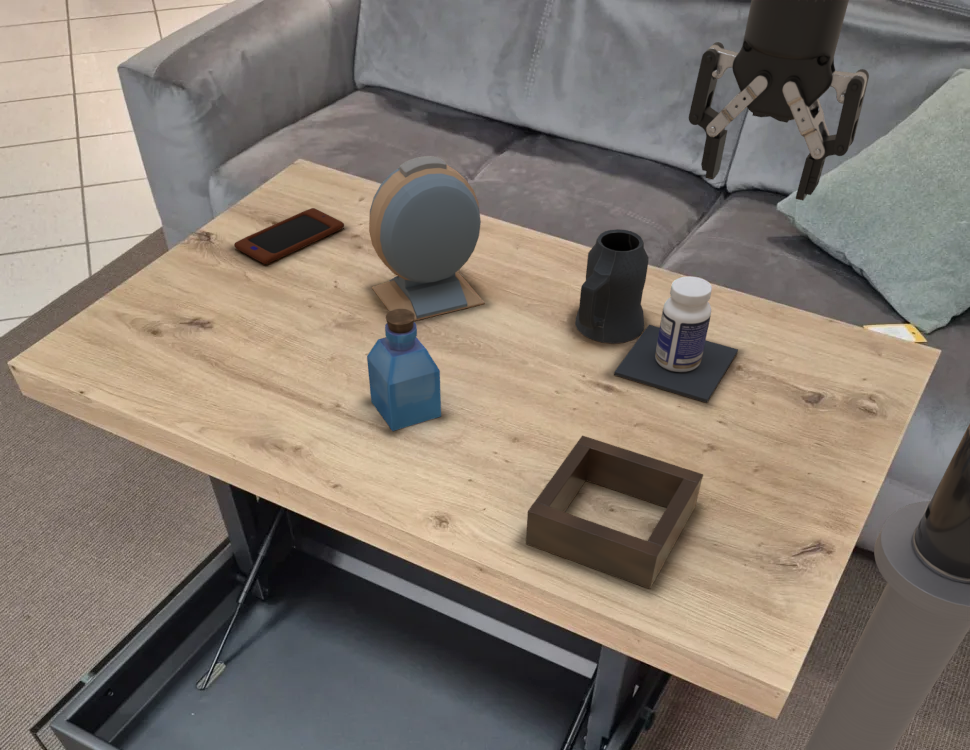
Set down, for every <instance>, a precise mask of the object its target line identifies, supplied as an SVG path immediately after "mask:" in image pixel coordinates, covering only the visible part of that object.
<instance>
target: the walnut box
mask: <svg viewBox="0 0 970 750" xmlns="http://www.w3.org/2000/svg"><path fill="white" fill-rule="evenodd" d="M703 477H704V474H703V473H701V472H697V471H694V470H691V469H688V468H685V467H681V466H679V465H675V464H673V463H669V462H667V461H663V460H660V459H658V458H654V457H651V456H648V455H644V454H641V453H638V452H635V451H633V450H629V449H626V448H623V447H619V446H616V445H614V444H610V443H608V442H604V441H601V440H599V439H595V438H591V437H589V436H586V435H581V436H580V438H579V439H578V440H577V442H576V443H575V444H574V446H573V448H572V449H571V451H570V452H569V453H568V455H567V456H566V458H565V459H564V460H563V462H562V463H561V464H560V466H559V467H558V468H557V470H556V471H555V473H554V474H553V476H552V477H551V478H550V479H549V481H548V483H547V484H546V485H545V486H544V488H543V489H542V490H541V492H540V494H539V495H538V496H537V498H536V499H535V501H534V502H533V503H532V505H531V506H530V507H529V509H528V510H527V517H526V533H525V545H528V546H530V547H533V548H536V549H539V550H541V551H544V552H547V553H550V554H551V555H552V554H553V555H555V556H557V557H561V558H563V559H565V560H569V561H572V562H575V563H577V564H579V565H582V566H586V567H589V568H591V569H594V570H597V571H599V572H602V573H604V574H607V575H610V576H612V577H615V578H619V579H621V580H624V581H627V582H630V583H632V584H635V585H637V586H639V587H643V588H645V589H648V590H650V589H651V588H652V587H653V585H654V583H655V581H656V579H657V577H658V575H659V574H660V572H661V570H662V568H663V566H664V565H665V563H666V561H667V559H668V557H669V555H670V553H671V552H672V550H673V548H674V547H675V545H676V543H677V541H678V539H679V537H680V536H681V534H682V532H683V530H684V528H685V526H686V524H687V523H688V521H689V519H690V517H691V515H692V514H693V512H694V510H695V508H696V506H697V503H698V502H697V501H698V497H699V494H700V489H701V487H702V486H701V485H702V481H703ZM586 482H588V483H592V484H594V485H598V486H601V487H604V488H606V489H610V490H612V491H615V492H619V493H622V494H625V495H628V496H631V497H633V498H637V499H640V500H642V501H645V502H649V503H651V504H654V505H657V506H660V507H663V508H665V510H664V511H663V513H662V515H661V517H660V518H659V520H658V522H657V524H656V525H655V527H654V529H653V530H652V532H651V534H650V535H649V538H648V539H647V540H646V539H643V538H640V537H637V536H634V535H632V534H631V535H630V534H628V533H625V532H622V531H619V530H616V529H615V528H611V527H608V526H605V525H603V524H599V523H596V522H594V521H592V520H588V519H585V518H582V517H580V516H576V515H574V514H571V513H568V512H566V511H567V509H568V508H569V506H570V505H571V503H572V502H573V501H574V499H575V498H576V496H577V494H578V493H579V492H580V490H581V489H582V487H583V485H584V484H585V483H586Z"/></svg>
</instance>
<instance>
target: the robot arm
mask: <svg viewBox="0 0 970 750" xmlns="http://www.w3.org/2000/svg"><path fill="white" fill-rule="evenodd" d="M849 1H850V0H750V6H749V11H748V16H747V20H746V25H745V31H744V35H743V42H742V45H741V47H740V50H739V51H738V52H737V51H734V50H730V49H726V48H725V45H724V44H723V43H722V42H719V41H716V42H714V43H713V44H711V46H709V48H708V49H706V50H705V51H704V53H702V55H701V59H700V64H699V69H698V74H697V76H696V77H697V78H696V82H695V87H694V91H693V95H692V100H691V105H690V108H689V113H688V121H689V123H690V124H691V125H693V126H698V127H700V128H701V129H703V130H704V132H705V143H704V147H703V153H702V158H701V163H700V165H701V171H704V172H705V179H709V180H714V179H715V178H716V177H717V176H718V174H719V173H720V169H721V165H722V160H723V156H724V150H725V146H726V145H725V144H726V140H727V135H728V129H726V128H727V126H728V125H729V124H730V123H731V122H733V121H734V120H735V119H736V118H737V117H738V116H739V115H740V114H741V113H742V112H744V111H745V109H746V108H747V110H748V111H749V112H751V113H752V115H751V116H752V117H758V118H772V119H774V120H776V121H778V122H781V123H789V121H794V122H795V125H796V127H797V129H798V133H799V135H800V136H801V137H803V138H804V141H805V143H806V146H807V149H808V151H809V153H808V155H807V156H806V158H805V161H804V165H803V168H802V172H801V175H800V180H799V183H798V187H797V191H796V195H795V200H799V201H804V200H805V199H806V197H807V196H811V195H812V194H813V193H814V191H815V190H816V188H817V187H818V185H819V183H820V181H821V176H822V172H823V169H824V165H825V162H826V158H828V157H830V156H837V157H842V156H844V155H846V154H847V152H848V150H849V149H850V147H851V146H852V144H853V143H854V141H855V139H856V138H855V137H856V133H857V129H858V125H859V120H860V117H861V112H862V108H863V103H864V99H865V96H866V91H867V87H868V83H869V78H870V74H869V71H868V70H866V69H864V68H861V69H858V70H857V71H855V72H849V71H839V70H836V66H835V54H836V50H837V47H838V42H839V39H840V37H841V36H840V34H841V32H842V28H843V24H844V19H845V16H846V14H847V13H846V12H847V9H848V6H849ZM730 68H732V73H733V76H734V78H735V81H736V83H737V86H738V89H739V92H738V93H737V94H736V95H735V96H734V97H733V98H732V99H731V100H730V101H729V102H728V103H727V104H726V105H725V106H724V107H723V108H722V109H721V110H720V111H717V110H715V108H712V103H713V99H714V95H715V93H716V92H715V91H716V87H717V83H718V80H719V79H721V78H722V77H724V76H725V74H726V73H727V71H728V69H730ZM830 87H831V88H833V89H834V90H835V92H836V95H835V96H836V98H835V99H836V100H837V102H838V103H839V104H842V108H841V113H840V116H839V121H838V124H837V129H836V134H830V131H829V128H828V126H827V124H826V121H825V112H824V109H823V107H822V103H821V101H820V98H821V97H822V96H823V95H824V94H825V93H826V92H827V91H828V90H829V89H830ZM928 501H930V503H929V502H928V504H929V505H928V504H927V506H928V507H926V508H927V509H925V511H924V514H923V516H922V519H921V520H920V522H919V524H918V526H917V527H916V529H915V531H914V533H913V535H912V540H911V543H912V548H913V551H914V553H915V555H916V556H917V558H918V559H919V560H920V561H921V563H922V564H923V565H925V566H926V567H927V568H928V569H930V570H931V571H932V572H934V573H936V574H937V575H939V576H941V577H944V578H946V579H949V580H952V581H955V582H959V583H964V584H970V423H969V424H968V426H967V428H966V430H965V432H964V434H963V436H962V438H961V440H960V442H959V444H958V446H957V448H956V450H955V451H954V454H953V456H952V458H951V459H950V462H949V464H948V466H947V468H946V469H945V471H944V473H943V475H942V478H941V479H940V482H939V483H938V486H937V488H936V489H935V491H934V493H933V496H932V497H930V499H929V500H928Z"/></svg>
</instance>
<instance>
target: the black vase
mask: <svg viewBox="0 0 970 750" xmlns="http://www.w3.org/2000/svg"><path fill="white" fill-rule="evenodd" d="M649 258H650V257H649V255H648V253H647V252H646V249H645V242H644V240H643V238H642V236H641V235H639V234H638V233H636V232H634V231H632V230H628V229H622V228H621V229H620V228H614V229H609V230H605V231H603V232H601V233H600V234H599V235H598V236H597V238H596V240H595V244H594V245H593V246H592V247H591V249H590V250H588V252H587V261H586V271H585V281H584V282H583V283H582V285H581V287H580V293H579V294H580V295H579V306H578V310H577V313H576V315H575V319H574V324H575V327H576V330H577V331H578V332H579V333H580V334H581V335H582V336H584V337H586V338H588V339H590V340H592V341H595V342H599V343H603V344H624V343H628V342H631V341H634V340H636V339H637V338H639V337H640V336H641V335H642V334H643V332H644V331H645V314H644V309H643V305H642V299H643V293H644V288H645V285H646V281H647V275H648V267H649V260H650V259H649Z"/></svg>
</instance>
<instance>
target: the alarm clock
mask: <svg viewBox="0 0 970 750" xmlns="http://www.w3.org/2000/svg"><path fill="white" fill-rule="evenodd" d="M398 166H399V167H398V168H397V169H395V170H394V171H392V172H390V174H388V175H387V176H386V178H385V179H384V180H383V181H382V182H381V184H380V185H379V187H378V189H377V190H376V192H375V194H374V196H373V198H372V202H371V205H370V208H369V220H368V221H369V222H368V227H369V228H368V232H369V237H370V242H371V246H372V247H373V249H374V251H375V253H376V255H377V256H378V258H379V260H381V262H382V263H383V264H384V266H385V267H387V269H388V270H389V271H390V272H391V273H393V275H395V276H394V277H392V278H391V279H389V280H388V281H386V282H383V283H380V284H376V285H373V286H371V289H372V290H373V292H374V293H375V294H376V296H377V297H378V299H379V300H380V301H381V302H382V304H383V305H384V307H385V308H386V309H387V310H388V312H389V311H391V310H394V309H407V310H410V311H412V312H413V313H414V315H415V318H414V322H415V321H419V320H424V319H428V318H432V317H436V316H441V315H443V314H449V313H453V312H457V311H461V310H464V309H465V310H466V309H470V308H473V307H477V306H482V305H485V301H484V300H483V298H482V297H481V296H480V295H479V294H478V293H477V292H476V290H475V289H473V287H472V286H471V285H470V284H469V283H468V281H467V280H466V279H465V278H464V277H463V276H462V275H461V274H460V273H459V271H460V269H461V268H462V267H464V265H466V263H467V262H468V261H469V259H470V258H471V256H472V254H473V253H474V252H475V249H476V247H477V243H478V241H479V237H480V232H481V226H482V225H481V224H482V221H481V212H480V211H481V210H480V204H479V199H478V197H477V195H476V193H475V190H474V188H473V187H472V185H470V183H469V182H468V181H467V179H466V178H465V177H464V176H463V175H461V173H460V172H458V171H457V170H456V169H454V168H453V167H451V166H450V165H448V164H447V162H445V161H444V159H443V158H441V157H439V156H433V155H423V156H418V157H417V156H416V157H413V158H411V159H409V160H406V161H405V162H402V163H401V164H400V165H398Z"/></svg>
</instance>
